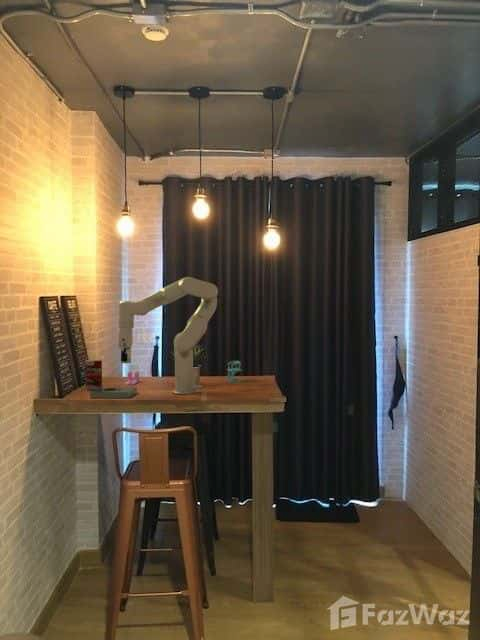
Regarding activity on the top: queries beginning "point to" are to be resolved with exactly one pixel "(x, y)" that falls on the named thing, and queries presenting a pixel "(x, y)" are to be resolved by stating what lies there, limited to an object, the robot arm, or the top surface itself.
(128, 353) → the bushing
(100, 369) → the supplement box
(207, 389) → the top surface
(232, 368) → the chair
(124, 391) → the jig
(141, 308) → the robot arm
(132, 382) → the pink notched block
